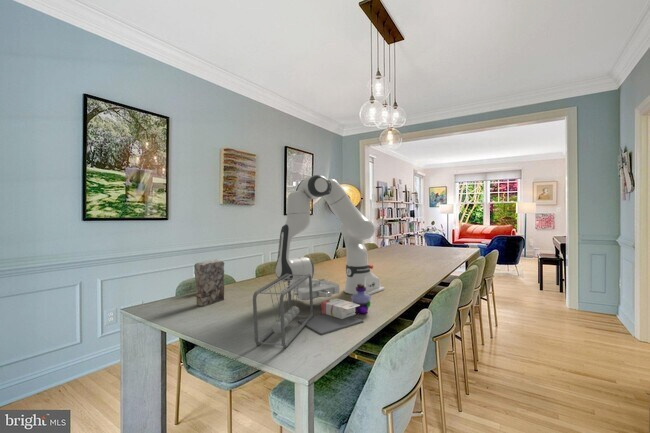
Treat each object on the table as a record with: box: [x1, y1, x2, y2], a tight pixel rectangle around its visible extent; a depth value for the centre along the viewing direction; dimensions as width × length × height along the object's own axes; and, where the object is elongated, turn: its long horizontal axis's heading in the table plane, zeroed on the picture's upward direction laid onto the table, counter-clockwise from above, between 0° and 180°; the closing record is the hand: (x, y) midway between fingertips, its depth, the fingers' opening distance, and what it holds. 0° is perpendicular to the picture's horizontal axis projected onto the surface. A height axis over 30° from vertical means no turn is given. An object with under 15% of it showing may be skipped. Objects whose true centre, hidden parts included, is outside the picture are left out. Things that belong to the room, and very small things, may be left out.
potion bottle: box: [350, 284, 372, 315], centre depth 131 cm, size 9×9×12 cm
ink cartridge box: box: [320, 297, 360, 319], centre depth 126 cm, size 9×5×15 cm
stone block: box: [193, 259, 225, 307], centre depth 149 cm, size 13×7×20 cm, turn 153°
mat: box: [297, 313, 365, 336], centre depth 120 cm, size 20×16×1 cm
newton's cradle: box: [252, 273, 314, 348], centre depth 112 cm, size 30×10×18 cm, turn 165°
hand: (328, 295), depth 131 cm, fingers closed
